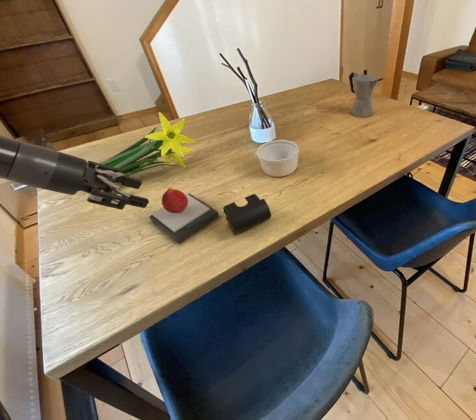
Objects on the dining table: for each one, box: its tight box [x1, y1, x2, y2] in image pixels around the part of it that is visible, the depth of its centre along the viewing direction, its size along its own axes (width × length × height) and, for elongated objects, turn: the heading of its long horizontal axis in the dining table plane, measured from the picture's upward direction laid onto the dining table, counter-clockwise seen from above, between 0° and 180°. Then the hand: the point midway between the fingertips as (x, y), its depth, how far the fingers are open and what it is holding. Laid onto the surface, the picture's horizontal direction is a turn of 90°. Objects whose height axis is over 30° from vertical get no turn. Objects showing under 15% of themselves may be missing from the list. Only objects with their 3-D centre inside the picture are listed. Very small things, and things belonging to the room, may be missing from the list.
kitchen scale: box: [148, 193, 220, 245], centre depth 73 cm, size 12×13×3 cm
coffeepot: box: [348, 69, 379, 118], centre depth 118 cm, size 15×9×18 cm, turn 43°
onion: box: [161, 187, 188, 213], centre depth 70 cm, size 6×6×8 cm
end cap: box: [222, 193, 272, 235], centre depth 70 cm, size 10×7×7 cm
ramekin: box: [256, 139, 300, 178], centre depth 90 cm, size 13×13×7 cm
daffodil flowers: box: [99, 111, 196, 177], centre depth 85 cm, size 17×15×35 cm
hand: (143, 194), depth 64 cm, fingers open, 8 cm apart
